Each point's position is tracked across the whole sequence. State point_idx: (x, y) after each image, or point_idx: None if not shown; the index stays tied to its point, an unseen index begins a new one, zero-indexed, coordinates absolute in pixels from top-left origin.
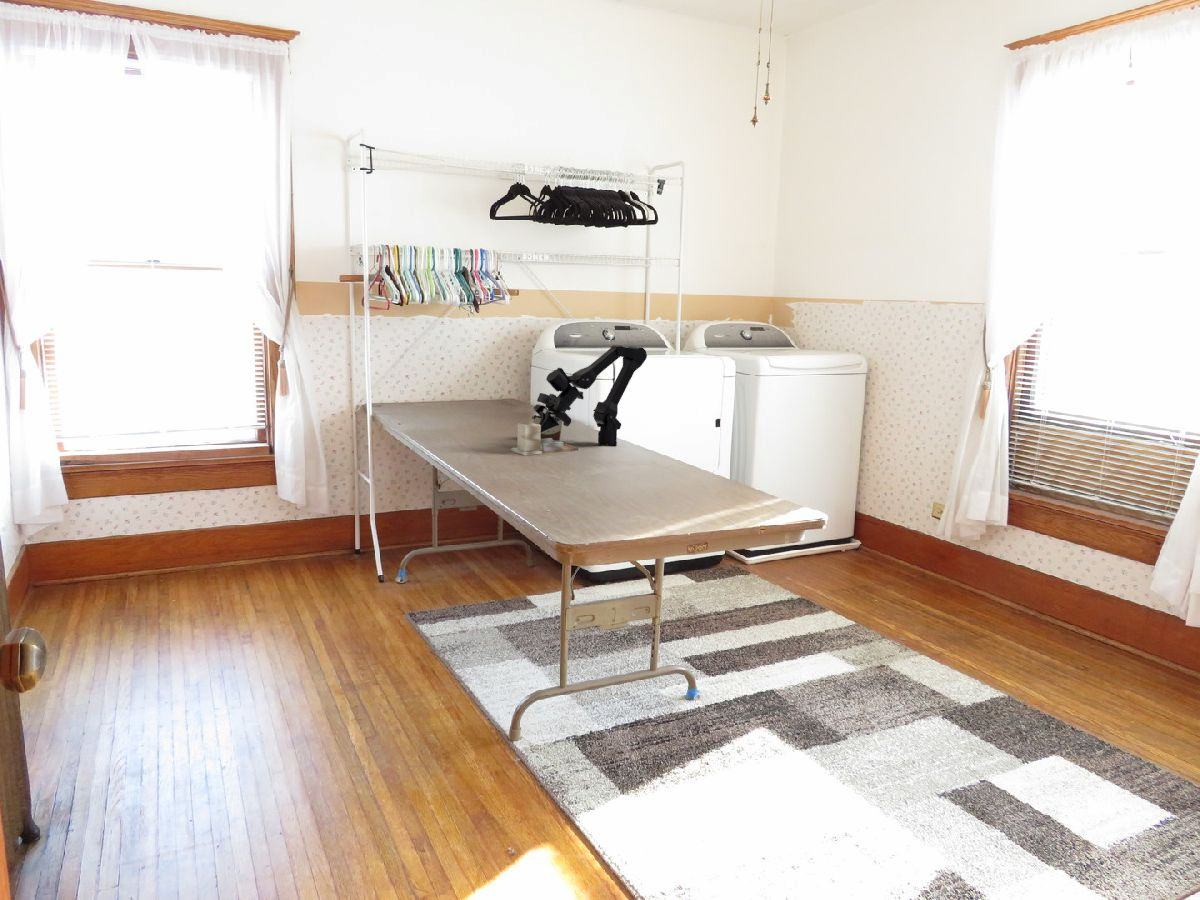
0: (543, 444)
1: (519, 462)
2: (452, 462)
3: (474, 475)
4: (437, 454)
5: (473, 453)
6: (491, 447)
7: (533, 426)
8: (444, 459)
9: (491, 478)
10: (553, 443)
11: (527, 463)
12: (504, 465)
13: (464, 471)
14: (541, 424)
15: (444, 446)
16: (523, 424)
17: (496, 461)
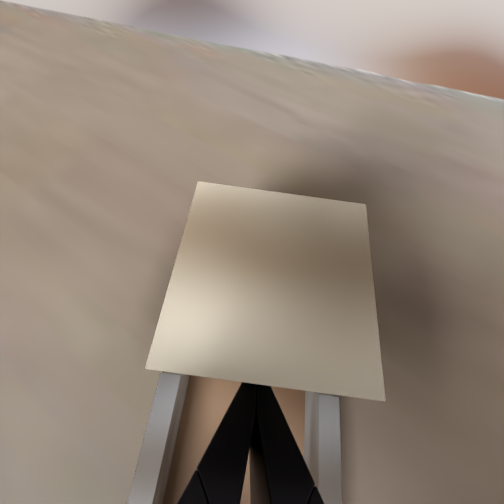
0: (164, 372)
1: (102, 167)
2: (239, 57)
3: (79, 28)
4: (354, 75)
5: (327, 138)
6: (417, 237)
7: (177, 266)
8: (284, 61)
9: (20, 33)
10: (135, 476)
11: (65, 177)
12: (107, 115)
13: (131, 33)
14: (231, 460)
15: (472, 132)
16: (286, 213)
17: (173, 127)
